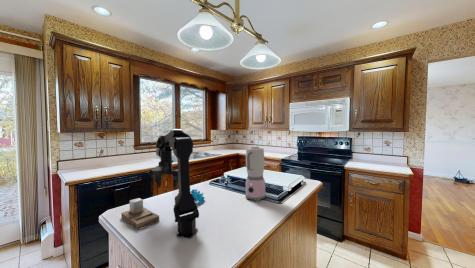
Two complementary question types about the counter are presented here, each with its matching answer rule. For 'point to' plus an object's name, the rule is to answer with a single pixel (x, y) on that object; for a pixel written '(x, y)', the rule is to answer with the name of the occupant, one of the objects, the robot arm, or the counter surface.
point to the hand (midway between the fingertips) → (167, 188)
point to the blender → (255, 173)
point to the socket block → (140, 218)
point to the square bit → (136, 206)
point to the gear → (197, 196)
